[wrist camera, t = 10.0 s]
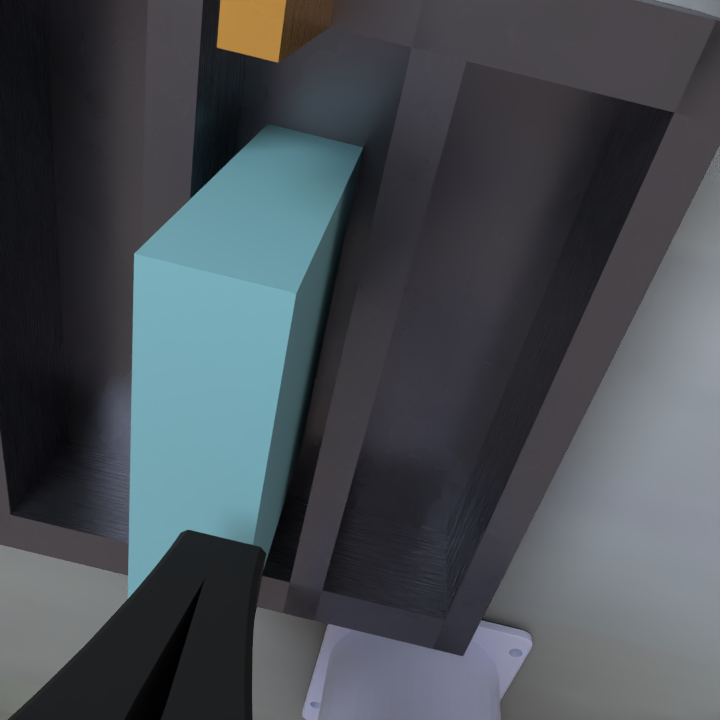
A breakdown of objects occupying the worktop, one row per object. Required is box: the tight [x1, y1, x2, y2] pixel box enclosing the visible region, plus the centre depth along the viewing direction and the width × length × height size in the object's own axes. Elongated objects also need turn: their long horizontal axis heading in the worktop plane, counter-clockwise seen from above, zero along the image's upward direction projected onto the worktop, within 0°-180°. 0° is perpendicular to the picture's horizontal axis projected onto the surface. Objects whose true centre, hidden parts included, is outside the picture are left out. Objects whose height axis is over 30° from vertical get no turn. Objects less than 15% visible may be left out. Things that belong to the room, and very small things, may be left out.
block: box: [128, 124, 363, 598], centre depth 16 cm, size 10×2×8 cm, turn 168°
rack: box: [0, 0, 720, 656], centre depth 16 cm, size 22×15×8 cm
